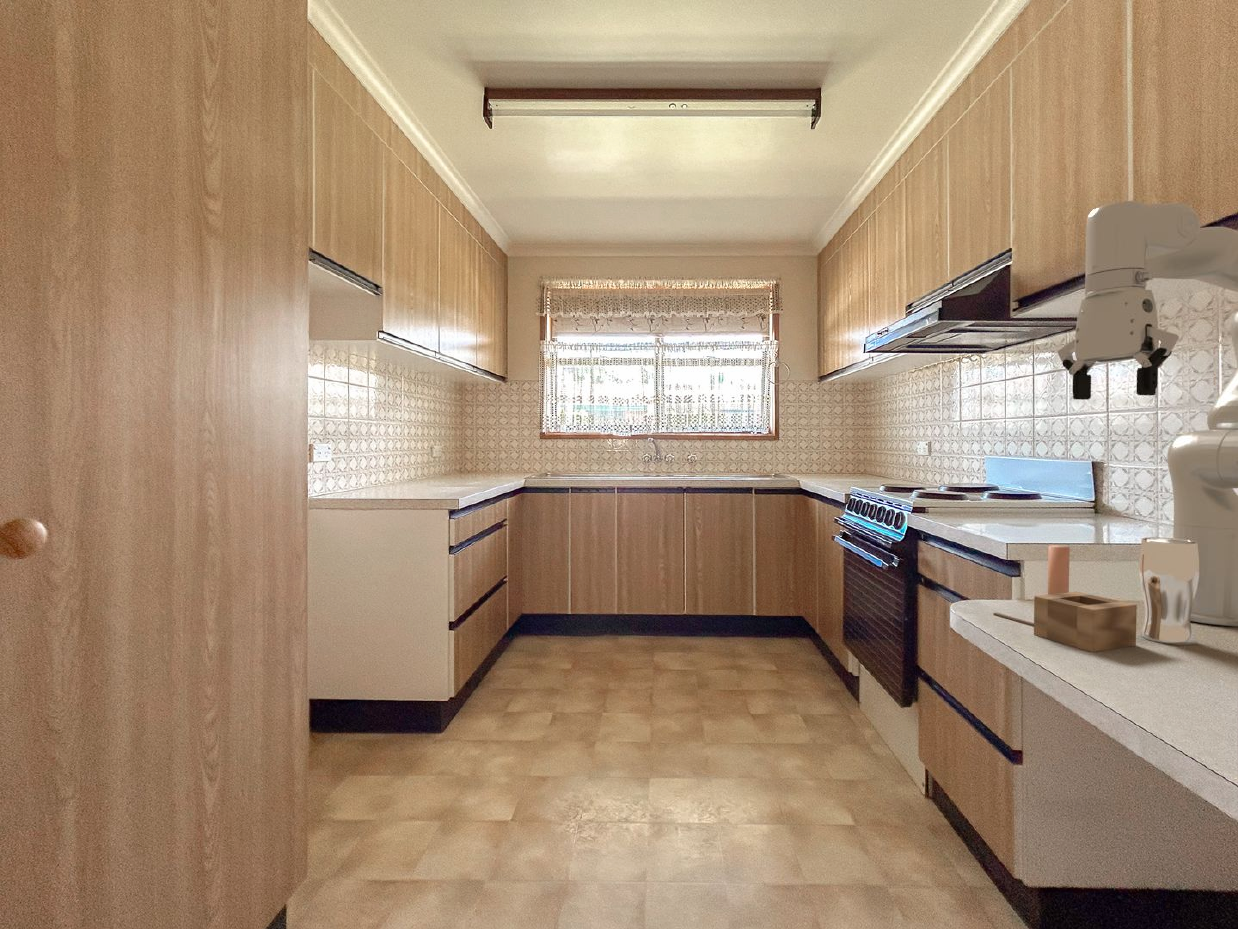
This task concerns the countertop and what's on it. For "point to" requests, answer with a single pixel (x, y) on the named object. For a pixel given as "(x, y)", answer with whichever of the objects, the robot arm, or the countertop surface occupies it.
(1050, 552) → the dowel
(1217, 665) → the countertop surface
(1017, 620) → the brown thin square rod
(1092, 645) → the wooden block with hole
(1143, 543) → the beer glass
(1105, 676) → the countertop surface
